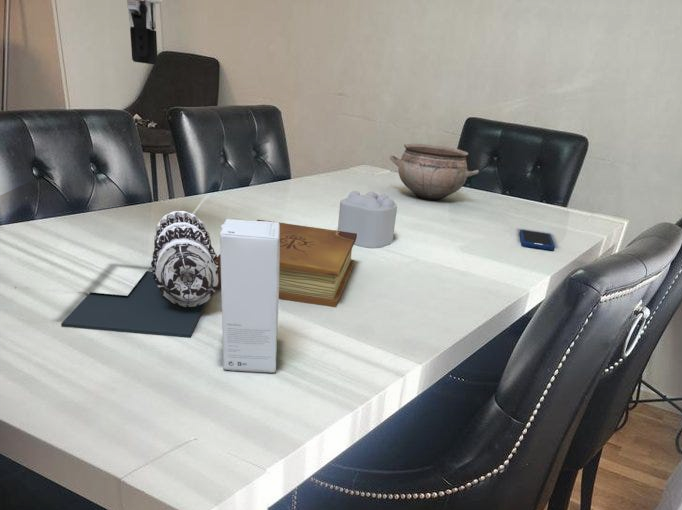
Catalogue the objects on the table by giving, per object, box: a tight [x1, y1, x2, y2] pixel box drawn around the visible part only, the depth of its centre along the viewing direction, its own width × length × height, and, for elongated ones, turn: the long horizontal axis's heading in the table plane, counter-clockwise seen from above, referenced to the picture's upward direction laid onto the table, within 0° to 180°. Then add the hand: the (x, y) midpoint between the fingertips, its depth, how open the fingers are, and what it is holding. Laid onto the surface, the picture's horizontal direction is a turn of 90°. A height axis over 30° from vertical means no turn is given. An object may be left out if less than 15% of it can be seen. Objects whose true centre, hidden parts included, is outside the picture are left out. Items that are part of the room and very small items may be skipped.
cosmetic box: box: [219, 218, 280, 373], centre depth 75 cm, size 8×7×16 cm
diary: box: [216, 219, 357, 308], centre depth 107 cm, size 23×19×6 cm
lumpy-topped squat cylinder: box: [337, 190, 398, 249], centre depth 133 cm, size 10×13×9 cm
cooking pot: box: [389, 143, 480, 201], centre depth 177 cm, size 25×19×12 cm
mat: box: [60, 270, 207, 338], centre depth 92 cm, size 16×24×1 cm, turn 2°
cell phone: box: [519, 229, 556, 251], centre depth 149 cm, size 7×14×1 cm, turn 171°
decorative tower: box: [150, 210, 219, 307], centre depth 95 cm, size 9×9×25 cm
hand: (145, 62), depth 92 cm, fingers closed
